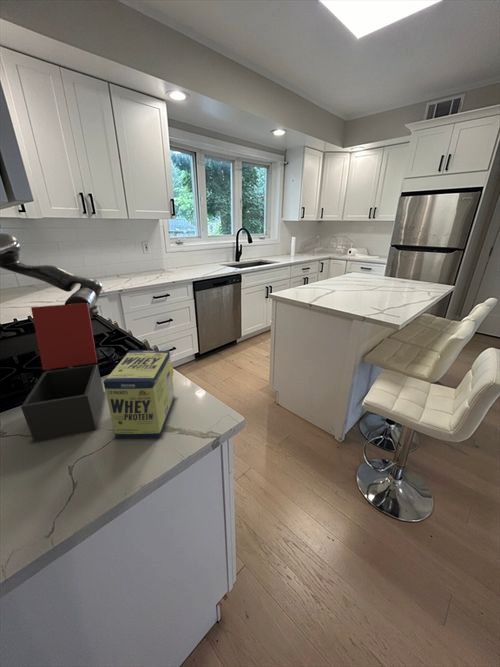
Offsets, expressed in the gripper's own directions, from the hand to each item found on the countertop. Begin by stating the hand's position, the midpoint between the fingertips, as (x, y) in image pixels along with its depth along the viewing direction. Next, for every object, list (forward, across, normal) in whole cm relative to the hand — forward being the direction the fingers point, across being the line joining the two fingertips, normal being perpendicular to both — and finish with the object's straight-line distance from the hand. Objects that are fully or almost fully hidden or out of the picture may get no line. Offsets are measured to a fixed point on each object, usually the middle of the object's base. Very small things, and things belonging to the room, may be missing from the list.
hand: (68, 320), depth 77 cm
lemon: (+7, -23, -21) cm, 32 cm away
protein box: (+22, -18, -21) cm, 36 cm away
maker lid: (+6, 0, -2) cm, 6 cm away
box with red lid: (+16, 0, -21) cm, 26 cm away
